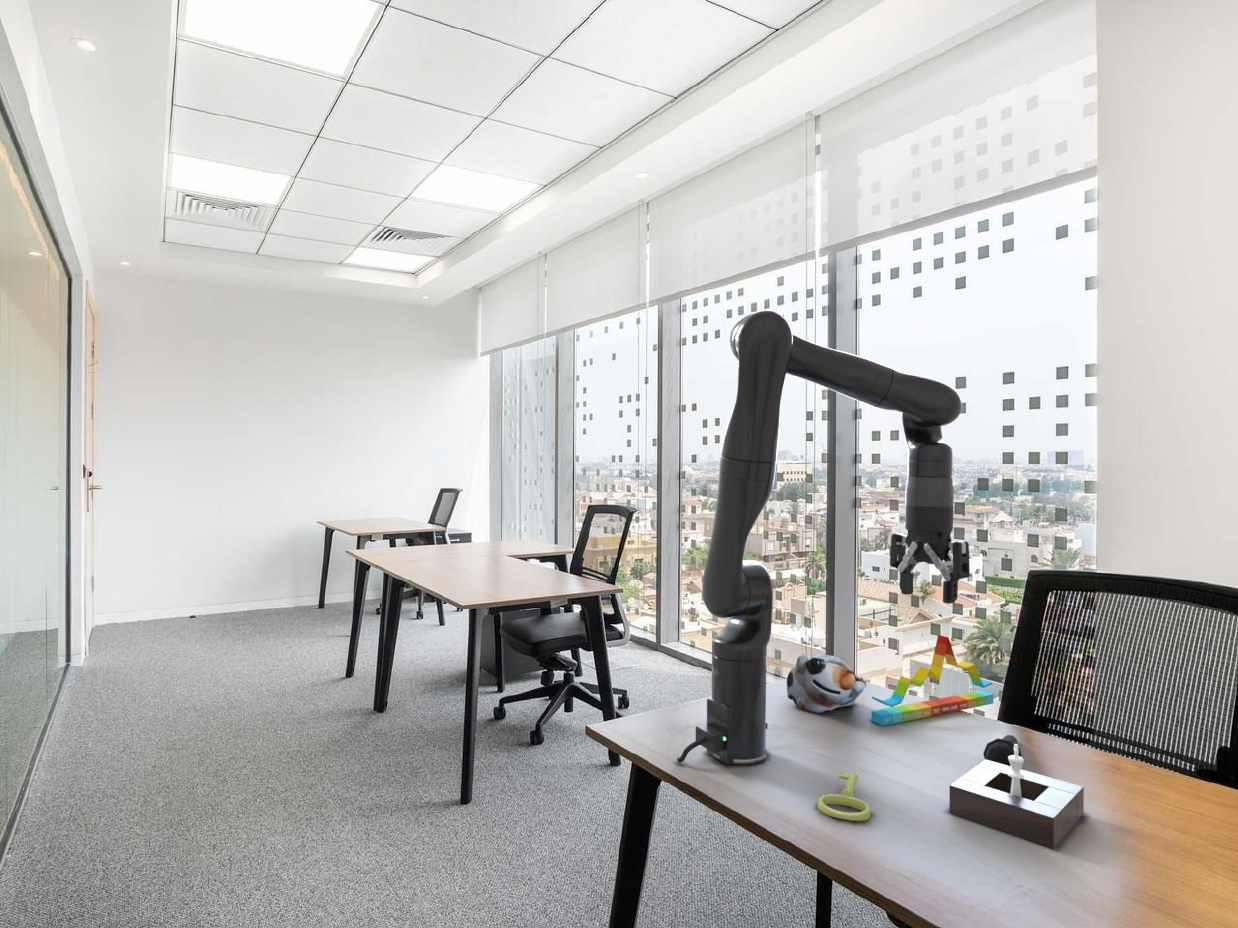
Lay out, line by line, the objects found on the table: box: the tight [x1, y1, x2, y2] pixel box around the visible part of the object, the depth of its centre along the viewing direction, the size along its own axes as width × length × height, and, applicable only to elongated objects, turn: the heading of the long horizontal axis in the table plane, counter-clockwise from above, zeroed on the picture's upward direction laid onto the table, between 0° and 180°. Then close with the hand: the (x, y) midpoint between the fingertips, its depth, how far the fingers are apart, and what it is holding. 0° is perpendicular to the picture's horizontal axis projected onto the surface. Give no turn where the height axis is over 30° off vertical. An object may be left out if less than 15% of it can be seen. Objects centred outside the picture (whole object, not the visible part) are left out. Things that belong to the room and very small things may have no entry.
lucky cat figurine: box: [786, 653, 867, 714], centre depth 151 cm, size 15×12×14 cm
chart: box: [871, 634, 994, 727], centre depth 149 cm, size 30×3×15 cm, turn 115°
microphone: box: [982, 734, 1023, 766], centre depth 126 cm, size 6×6×20 cm
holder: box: [948, 758, 1085, 849], centre depth 107 cm, size 14×14×4 cm
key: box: [817, 771, 871, 822], centre depth 110 cm, size 7×12×2 cm, turn 173°
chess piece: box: [1008, 744, 1025, 797], centre depth 107 cm, size 5×5×10 cm
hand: (927, 598), depth 126 cm, fingers open, 8 cm apart
